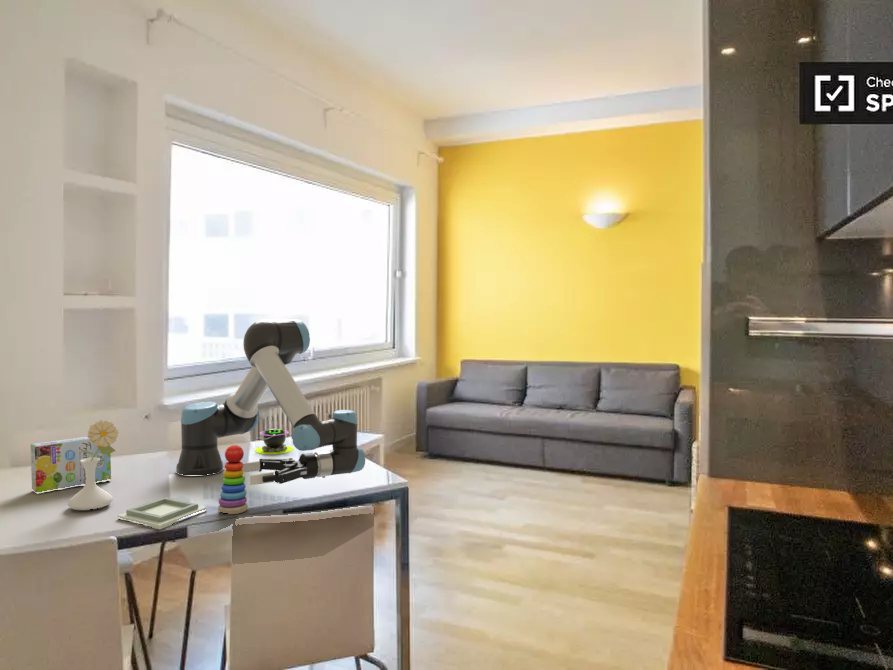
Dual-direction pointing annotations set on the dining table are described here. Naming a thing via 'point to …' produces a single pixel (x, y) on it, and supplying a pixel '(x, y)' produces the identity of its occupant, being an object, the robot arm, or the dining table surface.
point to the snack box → (65, 463)
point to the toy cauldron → (274, 442)
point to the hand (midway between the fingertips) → (243, 474)
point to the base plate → (161, 512)
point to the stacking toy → (233, 483)
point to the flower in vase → (91, 493)
